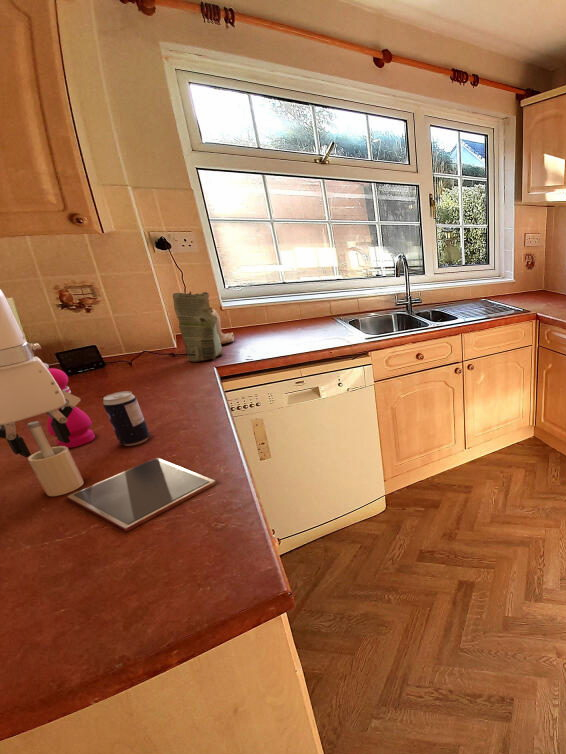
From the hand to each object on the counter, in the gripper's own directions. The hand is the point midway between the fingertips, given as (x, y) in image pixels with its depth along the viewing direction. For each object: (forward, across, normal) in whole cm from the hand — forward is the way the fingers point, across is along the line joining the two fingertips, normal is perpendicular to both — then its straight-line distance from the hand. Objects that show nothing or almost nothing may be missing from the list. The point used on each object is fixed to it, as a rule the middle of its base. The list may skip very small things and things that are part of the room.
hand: (45, 447), depth 80 cm
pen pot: (+9, 0, 0) cm, 9 cm away
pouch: (+9, -62, -59) cm, 86 cm away
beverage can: (+9, -16, -9) cm, 21 cm away
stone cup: (+9, -74, -74) cm, 105 cm away
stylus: (+9, 0, 0) cm, 9 cm away
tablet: (+9, -6, +16) cm, 19 cm away
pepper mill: (+9, -10, -22) cm, 26 cm away
